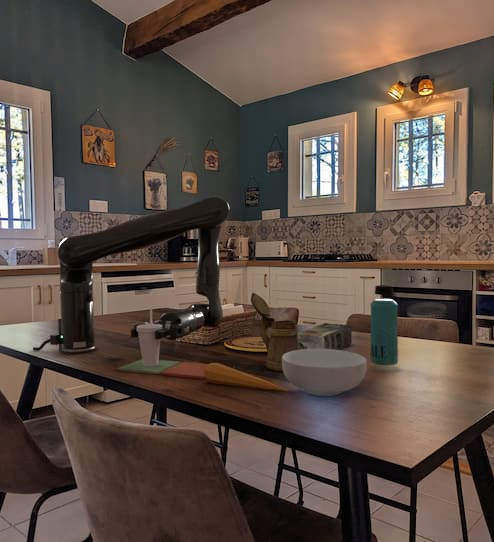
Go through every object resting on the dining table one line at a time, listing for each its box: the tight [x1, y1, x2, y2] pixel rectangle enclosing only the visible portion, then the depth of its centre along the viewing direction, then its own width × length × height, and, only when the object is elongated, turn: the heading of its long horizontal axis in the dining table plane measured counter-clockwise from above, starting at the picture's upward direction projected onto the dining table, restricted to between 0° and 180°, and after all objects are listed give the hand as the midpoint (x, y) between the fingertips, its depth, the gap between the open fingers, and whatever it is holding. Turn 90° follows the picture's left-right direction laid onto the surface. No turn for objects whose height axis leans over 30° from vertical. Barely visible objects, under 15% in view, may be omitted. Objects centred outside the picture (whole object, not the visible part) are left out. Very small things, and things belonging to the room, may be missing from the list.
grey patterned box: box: [298, 322, 353, 350], centre depth 145 cm, size 20×10×6 cm, turn 145°
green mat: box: [117, 358, 181, 375], centre depth 127 cm, size 11×11×1 cm
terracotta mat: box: [160, 361, 209, 380], centre depth 122 cm, size 11×11×1 cm
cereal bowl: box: [282, 349, 367, 397], centre depth 104 cm, size 17×17×7 cm
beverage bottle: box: [369, 284, 399, 366], centre depth 121 cm, size 6×7×20 cm
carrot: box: [204, 362, 290, 392], centre depth 108 cm, size 20×4×4 cm, turn 61°
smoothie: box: [136, 308, 162, 366], centre depth 126 cm, size 6×6×14 cm
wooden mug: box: [250, 292, 300, 372], centre depth 125 cm, size 9×14×18 cm, turn 57°
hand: (144, 334), depth 124 cm, fingers closed on smoothie, 6 cm apart
